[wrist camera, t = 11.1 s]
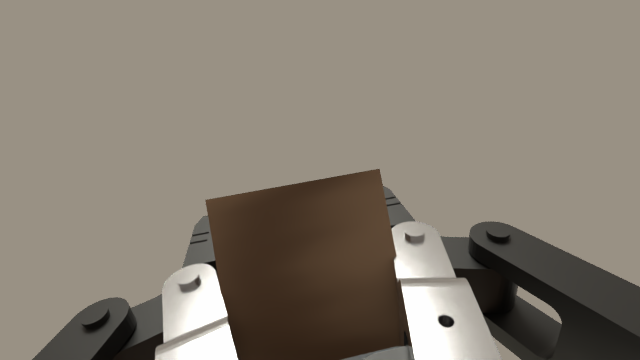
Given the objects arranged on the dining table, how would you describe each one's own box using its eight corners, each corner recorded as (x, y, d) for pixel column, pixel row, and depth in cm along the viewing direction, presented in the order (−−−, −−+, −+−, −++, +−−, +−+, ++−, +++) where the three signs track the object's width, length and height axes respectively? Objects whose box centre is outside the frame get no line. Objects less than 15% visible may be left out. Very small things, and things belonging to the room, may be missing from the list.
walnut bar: (236, 384, 7) (205, 199, 7) (275, 250, 29) (267, 205, 29) (413, 341, 7) (379, 168, 8) (320, 241, 29) (312, 197, 30)
